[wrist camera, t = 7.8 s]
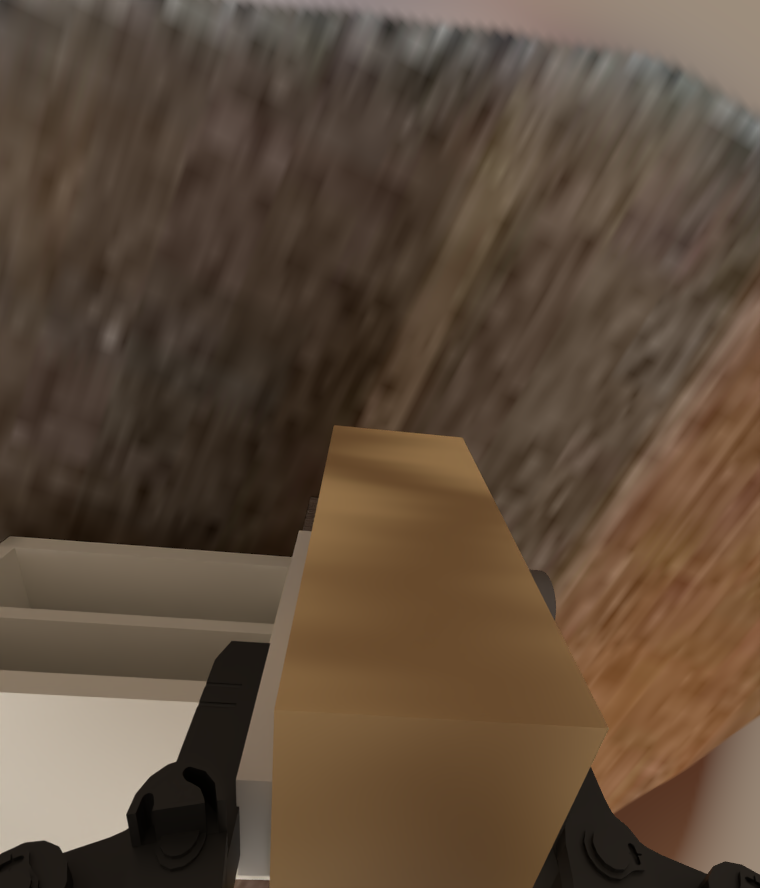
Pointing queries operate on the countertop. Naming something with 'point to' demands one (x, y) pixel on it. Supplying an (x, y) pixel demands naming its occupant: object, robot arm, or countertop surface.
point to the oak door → (421, 684)
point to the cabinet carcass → (110, 672)
